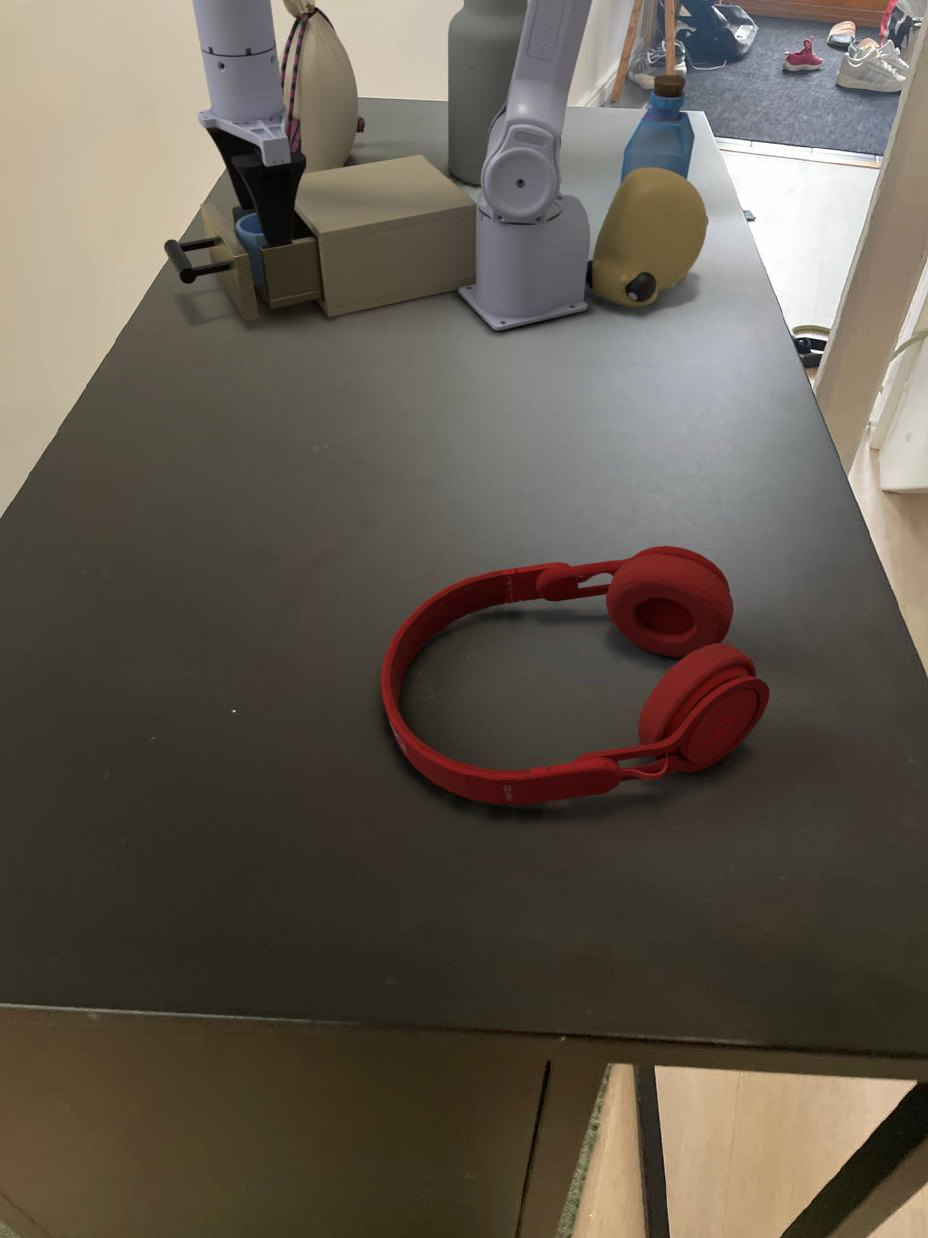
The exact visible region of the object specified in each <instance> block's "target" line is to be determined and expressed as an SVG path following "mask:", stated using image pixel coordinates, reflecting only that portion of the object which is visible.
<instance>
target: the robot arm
mask: <svg viewBox="0 0 928 1238" xmlns="http://www.w3.org/2000/svg"><path fill="white" fill-rule="evenodd" d="M271 1H272V0H191V2H192V8H193V13H194V18H195V25H196V29H197V36H198V41H199V46H200V50H201V51H200V52H201V57H202V62H203V69H204V74H205V81H206V84H207V90H208V96H209V102H210V108H209V109H206V110H200V111H198V112H197V113H196V115H197V120H198V123H199V124H200V126H201V127H202V128H203V129H205V131H206V132H207V134H208V135H209V136H210V138H211V139H212V141H213V143H214V145H215V147H216V149H217V150H218V152H219V155H220V156H221V158H222V161H223V164H224V165H225V168H226V171H227V174H228V176H229V180H230V182H231V185H232V188H233V190H234V193H235V196H236V198H237V201H238V204H239V203H240V205H241V207H242V209H243V210H249V209H254V208H255V211H256V214H257V218H258V221H259V225H260V228H261V231H262V233H263V236H264V238H265V240H266V242H267V243H268V244H275V243H280V242H285V241H290V240H291V238H292V231H293V221H294V209H295V200H296V195H297V190H298V187H299V183H300V180H301V178H302V175H303V173H304V171H305V169H306V162H307V161H306V156H305V155H304V154H303V153H302V152H301V151H295V152H290V151H289V143H288V137H287V135H286V127H287V119H288V114H287V107H286V105H285V104H284V102H283V94H282V86H281V78H280V70H279V62H278V61H279V57H278V48H277V43H276V42H277V39H276V32H275V26H274V25H275V23H274V19H273V17H274V16H273V9H272V2H271ZM592 4H593V0H528V6H527V10H526V15H525V20H524V24H523V29H522V34H521V38H520V43H519V48H518V53H517V57H516V62H515V66H514V70H513V74H512V78H511V82H510V86H509V91H508V95H507V99H506V101H505V103H504V105H503V107H502V109H501V110H500V111H499V112H498V114H497V115H496V116H495V117H494V119H493V121H492V123H491V125H490V127H489V130H488V135H487V154H486V160H485V162H484V165H483V168H482V173H481V186H480V189H481V192H480V193H479V194H478V196H477V236H476V277H475V278H476V284H473V285H469V286H464V287H460V288H459V289H458V295H460V296H461V297H462V299H464V300H465V302H467V303H468V304H469V306H470V307H471V308H472V309H473V310H474V311H475V312H476V313H477V314H478V315H479V316H480V317H481V318H482V319H483V320H484V321H485V322H486V323H487V325H488V326H490V327H491V328H492V329H493V330H494V331H498V332H499V331H500V332H501V331H504V330H508V329H512V328H516V327H520V326H526V325H530V324H533V323H538V322H542V321H547V320H550V319H555V318H558V317H563V316H568V315H573V314H576V313H580V312H584V311H586V310H588V303H587V302H585V300H584V298H585V289H586V286H585V282H586V273H587V264H588V261H589V256H590V255H589V254H590V245H591V230H590V221H589V217H588V214H587V211H586V208H585V207H584V205H583V203H582V202H581V200H580V199H579V198H578V197H576V196H575V195H572V194H562V192H560V190H561V186H562V185H561V184H562V173H561V167H560V162H561V161H560V160H561V159H560V154H561V153H560V152H561V148H562V135H563V134H562V133H563V130H564V129H563V128H564V124H565V117H566V112H567V106H568V100H569V94H570V91H571V86H572V82H573V79H574V74H575V70H576V66H577V64H578V63H577V62H578V58H579V54H580V50H581V46H582V42H583V40H584V35H585V32H586V27H587V24H588V20H589V16H590V12H591V7H592Z"/></svg>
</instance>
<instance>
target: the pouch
mask: <svg viewBox="0 0 928 1238" xmlns="http://www.w3.org/2000/svg"><path fill="white" fill-rule="evenodd" d="M282 2H283V5H284V7H285V9H286V11H287V12H288V13H289V14H290V15H291V16H292V17H293V18H295V20H294V22H293V24H292V26H291V29H290V32H289V35H288V37H287V40H286V41H285V43H284V46H283V48H282V50H281V52H280V55H279V57H278V62H279V70H280V78H281V86H282V94H283V102H284V104H285V105H286V107H287V114H288V119H287V127H286V135H287V137H288V143H289V151H290V152H295V151H301V152H302V153H303V154H304V155H305V156H306V161H307V162H306V169H305V171H304V173H303V174H306V173H312V172H318V171H325V170H331V169H337V168H343V167H344V165H345V164H346V162H347V160H348V158H349V157H350V154H351V152H352V150H353V148H354V144H355V142H356V141H355V140H356V136H357V134H359V133H361V134H362V133H364V132H365V127H366V122H365V119H364V118H363V117H362V116H360V115H359V95H358V94H359V93H358V86H357V81H356V75H355V72H354V69H353V66H352V62H351V60H350V56H349V54H348V52H347V50H346V48H345V46H344V44H343V42H342V41H341V40H340V38H339V36H338V33H337V31H336V29H335V27H334V25H333V24H332V22H331V20H330V18H329V17H328V16H327V14H325V13H324V12H323V10H321V9H320V8H319V7H317V6H316V0H282Z"/></svg>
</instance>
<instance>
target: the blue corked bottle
mask: <svg viewBox="0 0 928 1238" xmlns="http://www.w3.org/2000/svg"><path fill="white" fill-rule="evenodd" d="M653 81H654V82H653V87H654V88H653V89H652V90H651V91H650V94H649V102H648V103H649V105H650V106H651V107H648V108H647V110H646V112H645V113H644V115H643V117H642V118H641V120H640V121H639V123H638V125H637V127H636V128H635V130H634V132H633V134H632V135H631V137H630V138H629V141H628V142H627V144H626V146H625V147H624V152H623V159H622V167H621V173H620V174H621V175H620V181H619V185H620V184H621V183H622V181H623V180H624V178H625V177H626V176H627V175H628V174H629V173H630V172H632V171H634V170H636V169H639V168H646V167H654V168H662V169H666V170H670V171H672V172H675V173H677V174H679V175H681V176H682V177H684V178H685V179H687V180H688V177H689V176H688V175H689V170H690V166H691V159H692V154H693V148H694V142H695V138H696V137H695V136H696V135H695V132H694V129H693V126H692V123H691V120H690V117H689V113H688V112H686V111H680V110H681V108H683V107H684V105H685V98H686V93H685V92H684V89H685V86H686V83H687V79H685V78H684V77H682V76H679V75H674V74H661V75H656V76H655V77H654V78H653Z"/></svg>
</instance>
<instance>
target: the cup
mask: <svg viewBox="0 0 928 1238" xmlns="http://www.w3.org/2000/svg"><path fill="white" fill-rule="evenodd" d="M236 232H237V238H238V240H239V241H240V243H241V244H242V246H243V247H244V249H245V250H246V251H247V253H248V255H249V261H250V267H251V273H252V279H253V284H254V283H255V284H260V285H265V280H264V273H263V267H262V261H261V254H260V246H265V245H270V244H268V243H267V242H266V240H265V238H264V236H263V233H262V231H261V228H260V225H259V221H258V218H257V214H256V213H253V214H249V215H247V216H244V217H242V218H241V219H239V220H238V221H237V223H236ZM292 240H294V235H293V231H292V238H291V240H290V241H292ZM285 242H286V241H285ZM280 243H281V242H280ZM275 244H276V243H275ZM255 284H254V285H255Z"/></svg>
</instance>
